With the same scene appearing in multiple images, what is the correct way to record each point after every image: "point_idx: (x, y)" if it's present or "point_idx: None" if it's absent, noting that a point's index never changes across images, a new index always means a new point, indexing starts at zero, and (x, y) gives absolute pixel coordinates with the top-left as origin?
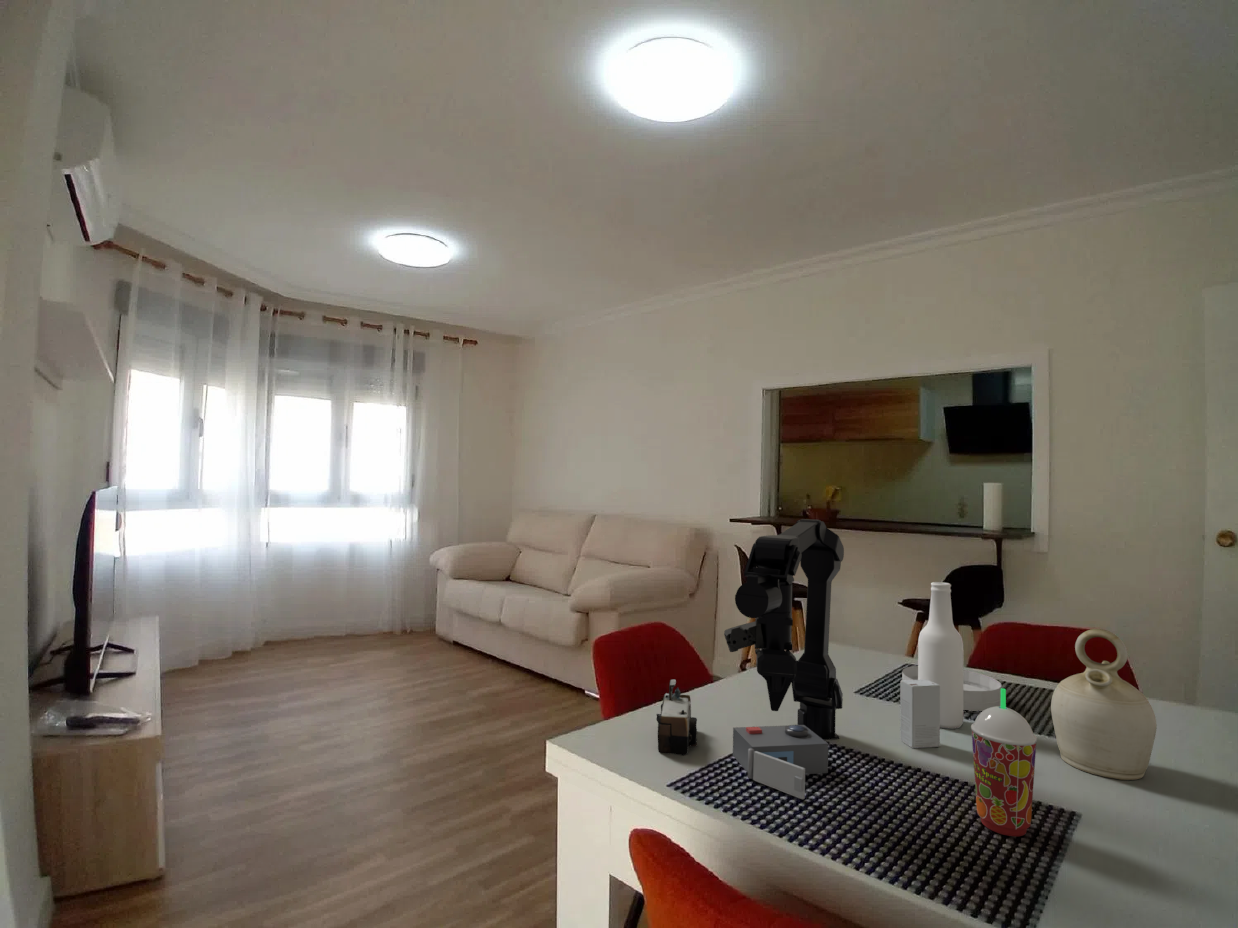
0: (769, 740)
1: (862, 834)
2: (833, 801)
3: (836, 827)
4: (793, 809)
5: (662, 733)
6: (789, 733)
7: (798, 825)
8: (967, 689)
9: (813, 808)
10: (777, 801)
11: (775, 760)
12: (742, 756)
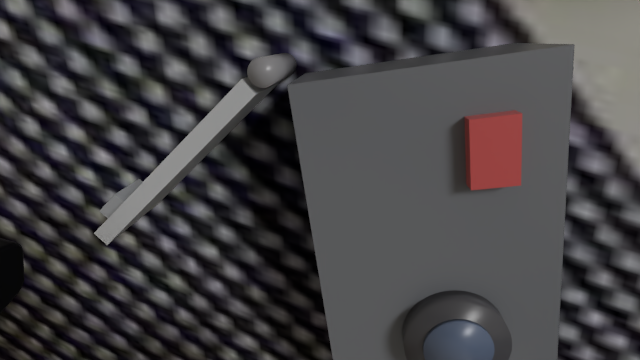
0: (371, 193)
1: None
2: (163, 272)
3: (22, 226)
4: (93, 146)
5: None
6: (428, 303)
7: (4, 130)
8: None
9: None
10: (134, 113)
11: (169, 155)
12: (404, 61)
